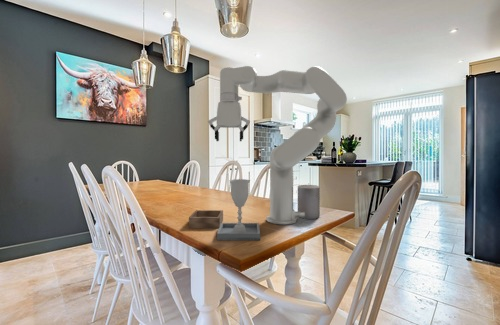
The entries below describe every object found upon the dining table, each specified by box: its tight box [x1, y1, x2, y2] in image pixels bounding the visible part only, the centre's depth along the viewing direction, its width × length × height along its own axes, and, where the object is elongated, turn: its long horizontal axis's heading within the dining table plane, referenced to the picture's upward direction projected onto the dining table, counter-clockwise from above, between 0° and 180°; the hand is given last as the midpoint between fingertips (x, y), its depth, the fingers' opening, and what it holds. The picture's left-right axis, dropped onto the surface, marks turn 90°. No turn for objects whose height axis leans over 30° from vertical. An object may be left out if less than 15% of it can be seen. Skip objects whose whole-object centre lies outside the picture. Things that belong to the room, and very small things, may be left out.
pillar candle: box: [297, 183, 321, 220], centre depth 106 cm, size 10×10×15 cm
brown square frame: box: [188, 209, 224, 229], centre depth 95 cm, size 12×12×4 cm
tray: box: [216, 222, 261, 241], centre depth 83 cm, size 14×12×2 cm
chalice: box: [229, 178, 251, 233], centre depth 82 cm, size 7×7×18 cm
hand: (229, 141), depth 98 cm, fingers open, 9 cm apart
